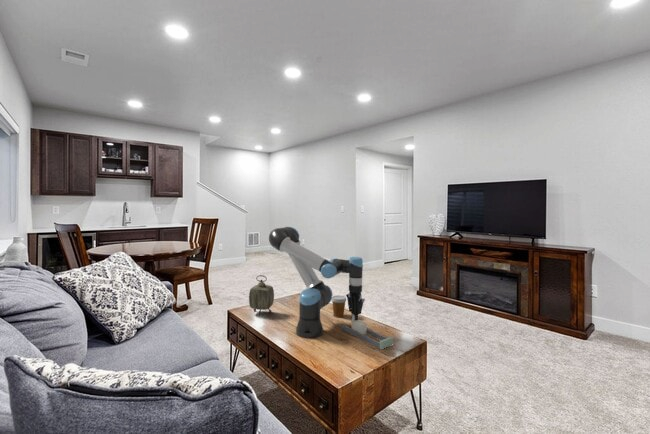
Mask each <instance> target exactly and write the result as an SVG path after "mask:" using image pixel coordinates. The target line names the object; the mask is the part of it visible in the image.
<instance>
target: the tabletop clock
mask: <svg viewBox="0 0 650 434" xmlns="http://www.w3.org/2000/svg"><path fill="white" fill-rule="evenodd" d="M258 277H263V278H265V280H263V279H258ZM255 279H256V281H257V282H258V283H257V284H255V285H253V286H252V287H251V288H250V289H249V293H248V302H249V303H248V304H249V307H250V308H251V309H253V312H256V311H257V310H259V312H258V315H262V311H264V310H265V311H266V310H268V312H269V313H272V310H271V309H270V308H271V307H272V306H273V304H274V301H275V292H274V291H275V290H274V287H273V286H272V285H271V284H270V285H269V284H266V283H265V282H266V281H267V276H266V275H257V276H256V278H255Z"/></svg>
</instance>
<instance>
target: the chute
mask: <svg viewBox="0 0 650 434" xmlns="http://www.w3.org/2000/svg"><path fill="white" fill-rule="evenodd" d="M341 330H342V331H344V332H346V333H348V334H351V335H352V336H355V337H356V338H358V339H359V340H362V341H364V342H365V343H367V344H370V345H371V346H373V345H374V347H375V346H376V348H377V347H378V348H377V349H379V348H380V350H381V349H383V350H385V349H387V348H386V347H388V346H390V345H392V344H393V345H394V337H392V336H389V337H386V336H385V335H382V334H380V333H378V332H376V331H374V330H371V329H369V328H367V333H366V334H364V335H363V334H361V333H359V332H357V331H355V330H353V329H352V327H348V326H347V325H345V324H341ZM367 335H369V336H367ZM370 336H371V337H373V338H375V339H377V338H378V339H377V340H379V339H380V340H379V341H377V340H375V339H373V338H371V337H370ZM393 345H392V346H393ZM390 347H391V346H390ZM384 348H385V349H384ZM388 348H389V347H388Z"/></svg>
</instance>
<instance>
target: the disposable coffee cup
mask: <svg viewBox="0 0 650 434" xmlns="http://www.w3.org/2000/svg"><path fill="white" fill-rule="evenodd" d="M346 298H347V296H344V295H332V299H331V302H332V313H333V316H334V317H335V318H343V317H344V313H345V309H346V308H345V307H346V302H347V299H346Z"/></svg>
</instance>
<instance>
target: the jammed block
mask: <svg viewBox="0 0 650 434" xmlns="http://www.w3.org/2000/svg"><path fill="white" fill-rule="evenodd" d="M351 329H353V330H355V331H357V332H359V333H361V334H363V335H367V329H368V323H367V322H366V321H363V320H362V319H358V320H357V321H353V322H352V321H351Z"/></svg>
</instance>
